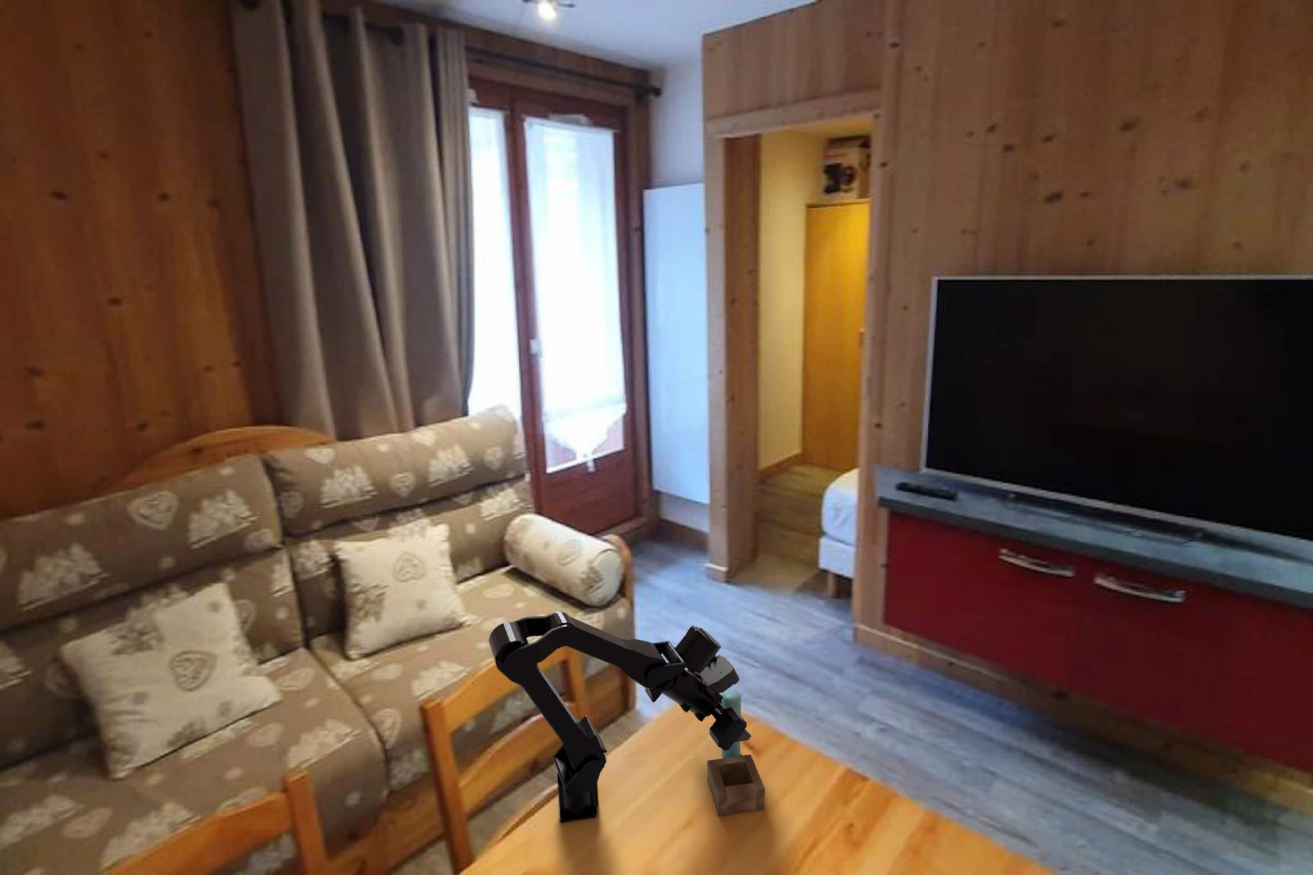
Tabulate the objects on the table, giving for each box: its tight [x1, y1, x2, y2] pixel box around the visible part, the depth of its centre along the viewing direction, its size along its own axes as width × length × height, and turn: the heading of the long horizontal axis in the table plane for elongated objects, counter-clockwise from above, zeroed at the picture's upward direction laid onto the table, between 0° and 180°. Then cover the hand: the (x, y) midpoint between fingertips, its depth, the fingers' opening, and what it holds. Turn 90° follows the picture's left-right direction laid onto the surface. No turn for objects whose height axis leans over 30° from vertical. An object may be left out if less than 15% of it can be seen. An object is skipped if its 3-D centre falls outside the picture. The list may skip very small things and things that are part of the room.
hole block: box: [706, 753, 766, 817], centre depth 120 cm, size 8×8×4 cm
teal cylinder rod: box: [721, 689, 742, 758], centre depth 129 cm, size 4×4×13 cm
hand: (737, 722), depth 129 cm, fingers open, 9 cm apart
